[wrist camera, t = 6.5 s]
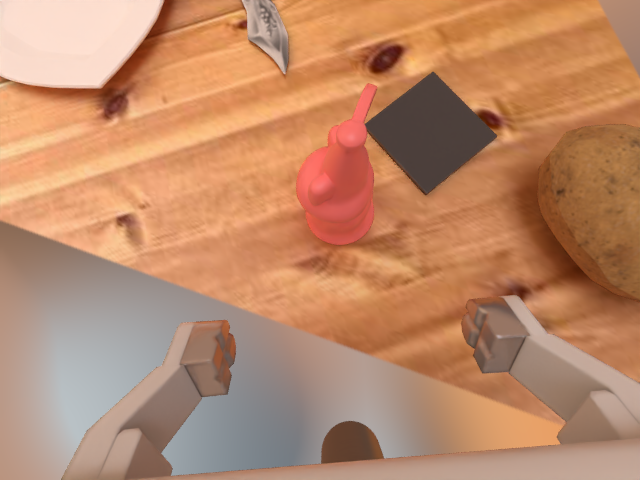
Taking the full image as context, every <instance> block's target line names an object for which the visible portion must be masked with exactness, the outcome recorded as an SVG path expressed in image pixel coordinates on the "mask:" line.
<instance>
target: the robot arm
mask: <svg viewBox="0 0 640 480" xmlns="http://www.w3.org/2000/svg"><path fill="white" fill-rule="evenodd" d="M466 309H467V311H468V312H467V313H466V314H465V315H464V316H463V318H462V322H461V325H462V332H463V335H464V338H465V340H466V342H467V344H468V345H470V346H471V347H473V348H474V349H475V350H474V354H473V356H474V358H475V360H476V362H477V364H478V366H479V368H480V370H481V372H482V373H499V372H509V374H510V375H511V376H513V377H514V378H515V379H516V380H517V381H519V382H520V383H521V384H522V385H523V386H524V387H526V388H527V389H528V390H529V391H530V392H532V393H533V394H534V395H535V396H536V397H537V398H539V399H540V400H541V401H542V402H543V403H545V404H546V405H547V406H548V407H549V408H550V409H552V410H553V411H554V412H555V413H556V414H558V415H559V416H560V417H561V418H562V419H564V420H565V421H566V424H565V425H564V426H563V427H562V429H561V430H560V431H559V433H558V435H557V438H558V440H559V442H560V443H561V444H560V445H548V446H536V447H524V448H511V449H498V450H486V451H474V452H461V453H449V454H436V455H424V456H412V457H399V458H387V459H374V460H362V461H349V462H337V463H325V464H313V465H301V466H287V467H275V468H263V469H251V470H238V471H226V472H215V473H201V474H189V475H177V476H171V473H172V467H171V465H170V463H169V462H168V461H167V460H166V459H165V458H164V456H163V455H162V454H161V452H162V451H163V449H164V448H165V447H166V446H167V444H168V443H169V442H170V440H171V439H172V438H173V436H174V435H175V434H176V432H177V431H178V430H179V429H180V427H181V426H182V425H183V423H184V422H185V421H186V419H187V418H188V417H189V415H190V414H191V413H192V411H193V410H194V409H195V407H196V406H197V405H198V403H199V402H200V401H201V399H202V398H201V397H208V396H217V395H226V394H228V390H229V385H230V381H231V376H232V375H231V373H230V370H229V368H230V367H231V366H232V365H233V364H234V360H235V355H236V345H235V339H234V337H233V335H232V334H230V333H229V329H230V325H229V323H228V321H227V320H218V321H200V322H187V323H181V324H180V325H179V326H178V328H177V330H176V333H175V335H174V337H173V340H172V342H171V345H170V347H169V349H168V352H167V354H166V357H165V359H164V361H163V364H162V366H161V367H156V368H155V369H154V370H153V371H152V372H151V373H150V374H149V375H148V376H146V377H145V378H144V379H143V380H142V381H141V382H140V383H139V384H138V385H137V386H135V387H134V388H133V389H132V390H131V391H130V392H129V393H128V394H127V395H126V396H124V397H123V398H122V399H121V400H120V401H119V402H118V403H117V404H116V405H115V406H114V407H113V408H112V409H110V410H109V411H108V412H107V413H106V414H105V415H104V416H103V417H101V418H100V419H99V420H98V421H97V422H96V423H95V424H94V425H93V426H92V427H91V428H89V429H88V430H87V432H86V433H85V435H84V437H83V439H82V441H81V443H80V445H79V447H78V448H77V450H76V452H75V454H74V456H73V458H72V460H71V462H70V463H69V465H68V467H67V469H66V471H65V473H64V475H63V477H62V479H61V480H640V383H639V382H637V381H635V380H633V379H632V378H630V377H628V376H626V375H625V374H623V373H621V372H619V371H617V370H616V369H614V368H612V367H610V366H609V365H607V364H605V363H603V362H602V361H600V360H598V359H596V358H595V357H593V356H591V355H589V354H587V353H586V352H584V351H582V350H580V349H579V348H577V347H575V346H573V345H572V344H570V343H568V342H566V341H565V340H563V339H561V338H559V337H558V336H556V335H554V334H548V333H547V332H546V331H545V329H544V328H543V327H542V325H541V324H540V323H539V322H538V320H537V319H536V318H535V317H534V315H533V314H532V313H531V312H530V310H529V309H528V308H527V307H526V305H525V304H524V303H523V301H522V300H521V299H520V298H519V297H518V296H516V295H511V296H500V297H498V296H497V297H487V298H477V299H469V300H468V301H467V304H466Z"/></svg>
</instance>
